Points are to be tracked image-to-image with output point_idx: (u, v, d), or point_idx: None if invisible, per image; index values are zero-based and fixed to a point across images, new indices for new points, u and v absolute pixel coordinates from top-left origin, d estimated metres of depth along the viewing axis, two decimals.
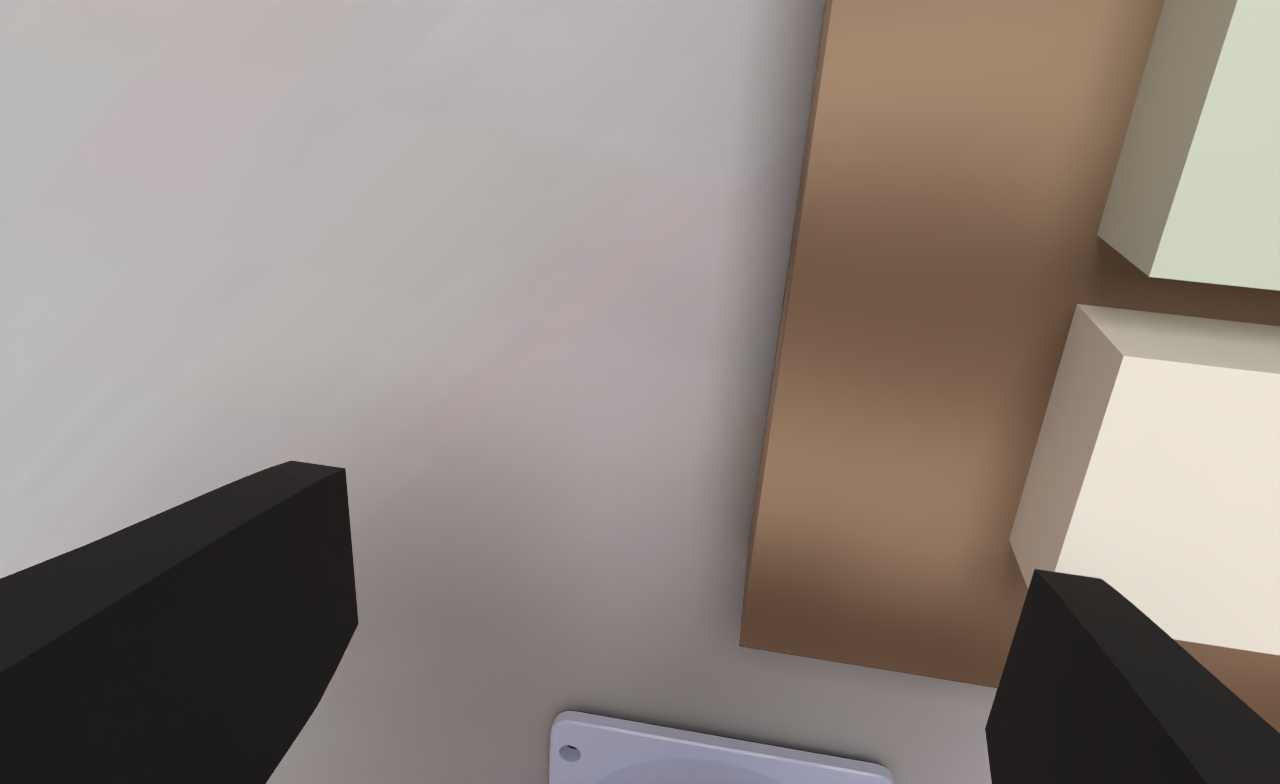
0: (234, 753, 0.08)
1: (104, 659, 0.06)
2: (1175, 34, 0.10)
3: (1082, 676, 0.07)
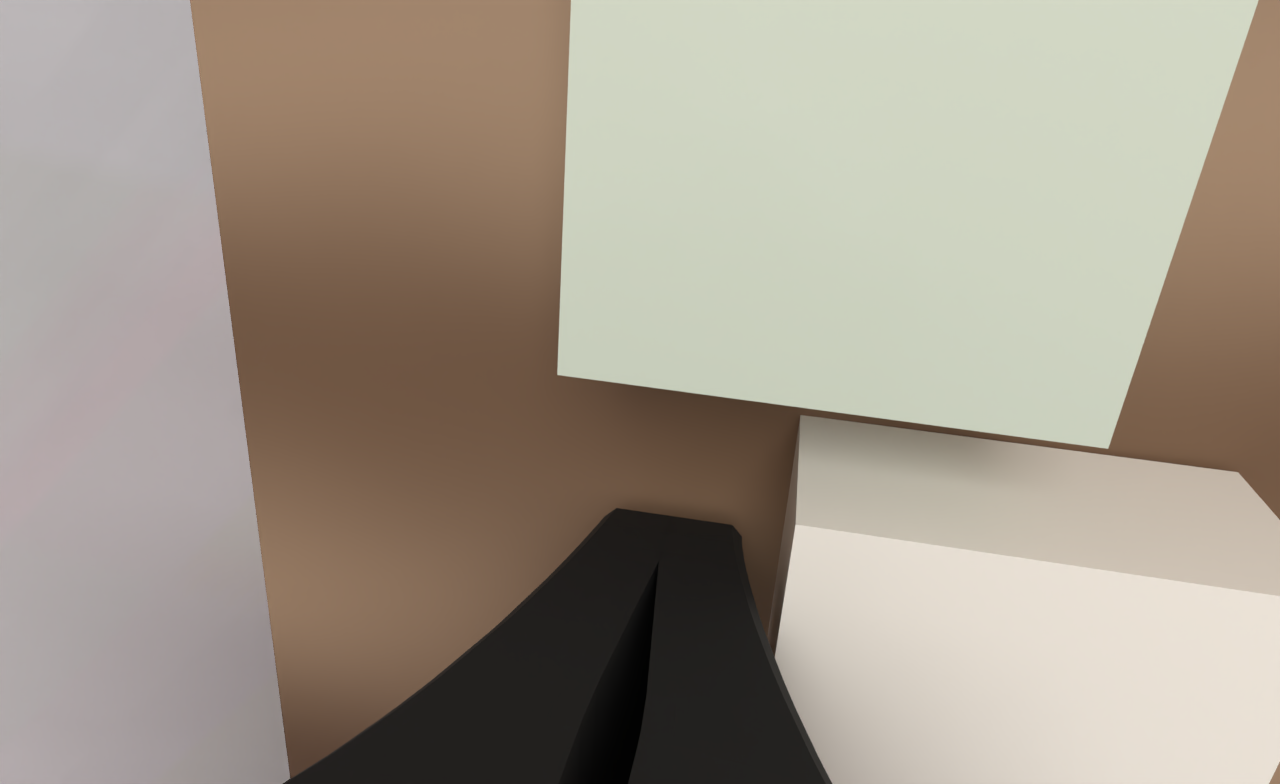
0: None
1: (587, 746, 0.06)
2: None
3: None
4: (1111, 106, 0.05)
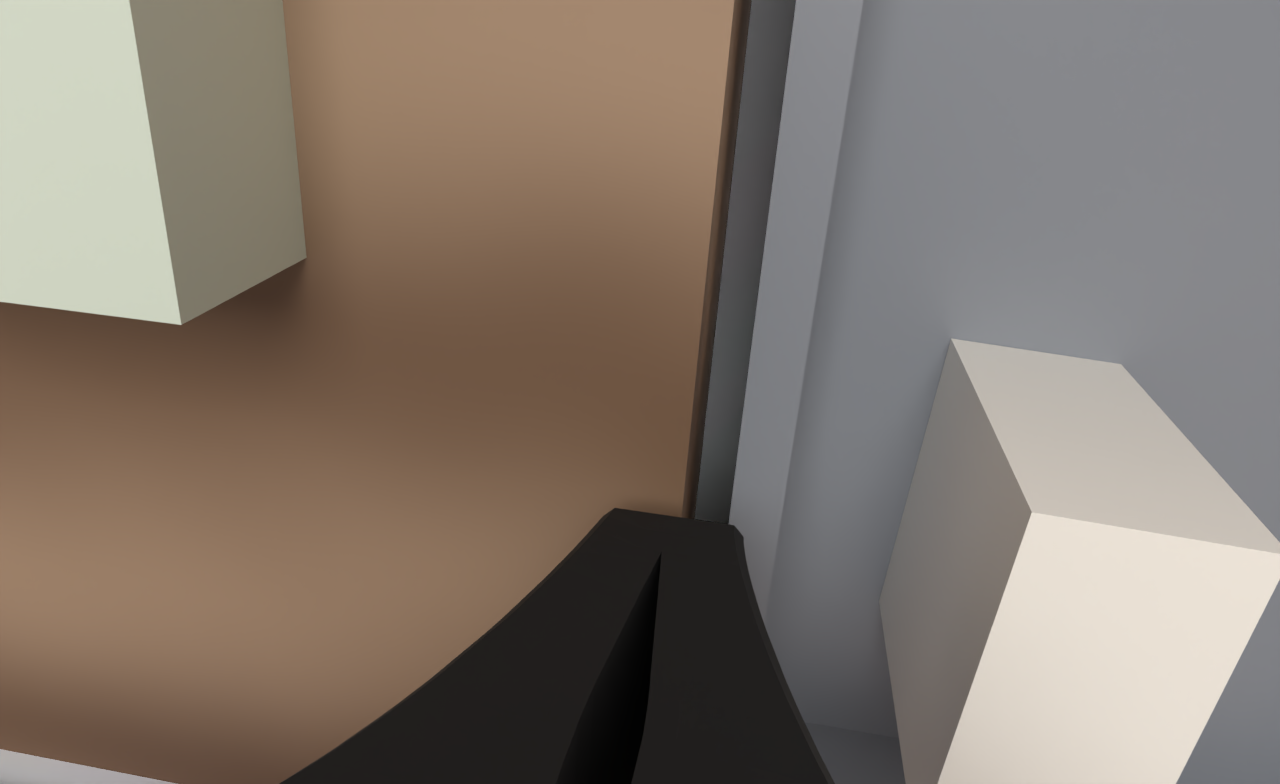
0: None
1: (585, 746, 0.06)
2: None
3: (656, 608, 0.07)
4: (51, 10, 0.06)
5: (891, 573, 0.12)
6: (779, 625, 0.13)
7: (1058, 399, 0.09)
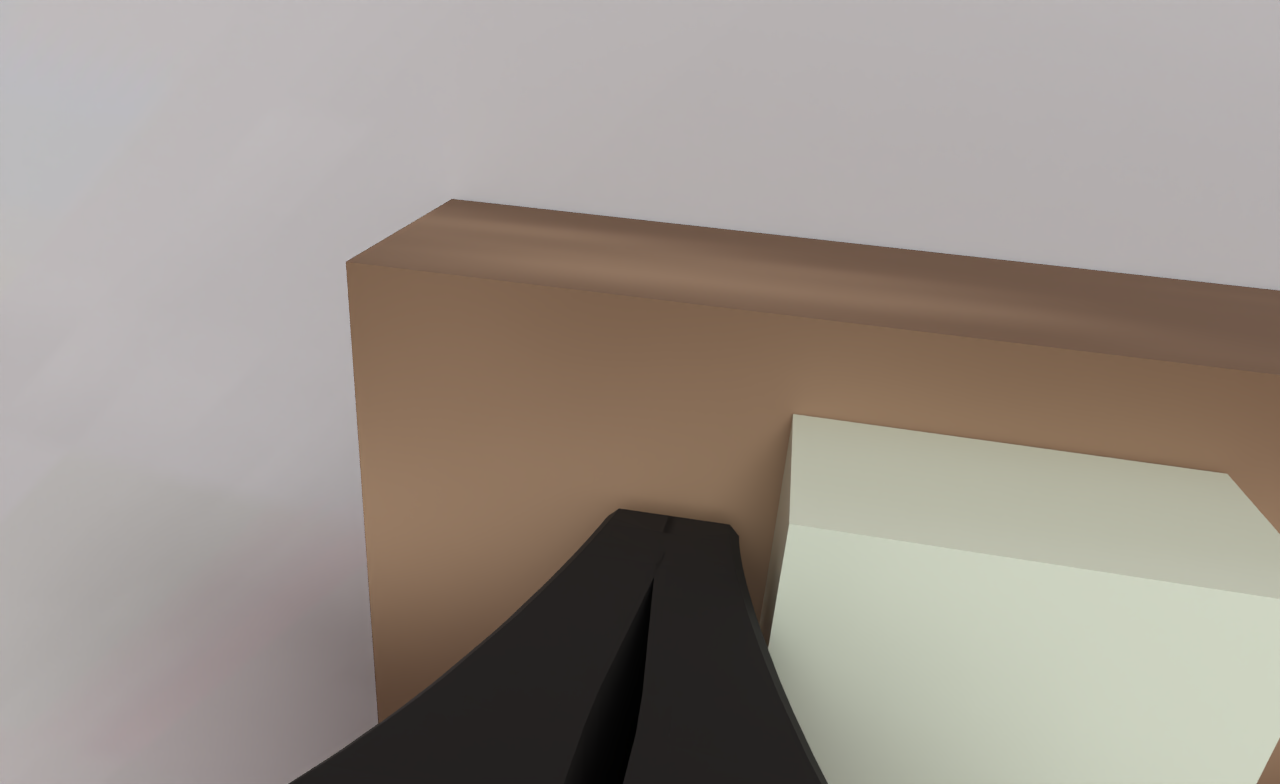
0: None
1: (591, 746, 0.06)
2: (771, 571, 0.09)
3: (650, 608, 0.07)
4: (1176, 766, 0.07)
5: None
6: None
7: None
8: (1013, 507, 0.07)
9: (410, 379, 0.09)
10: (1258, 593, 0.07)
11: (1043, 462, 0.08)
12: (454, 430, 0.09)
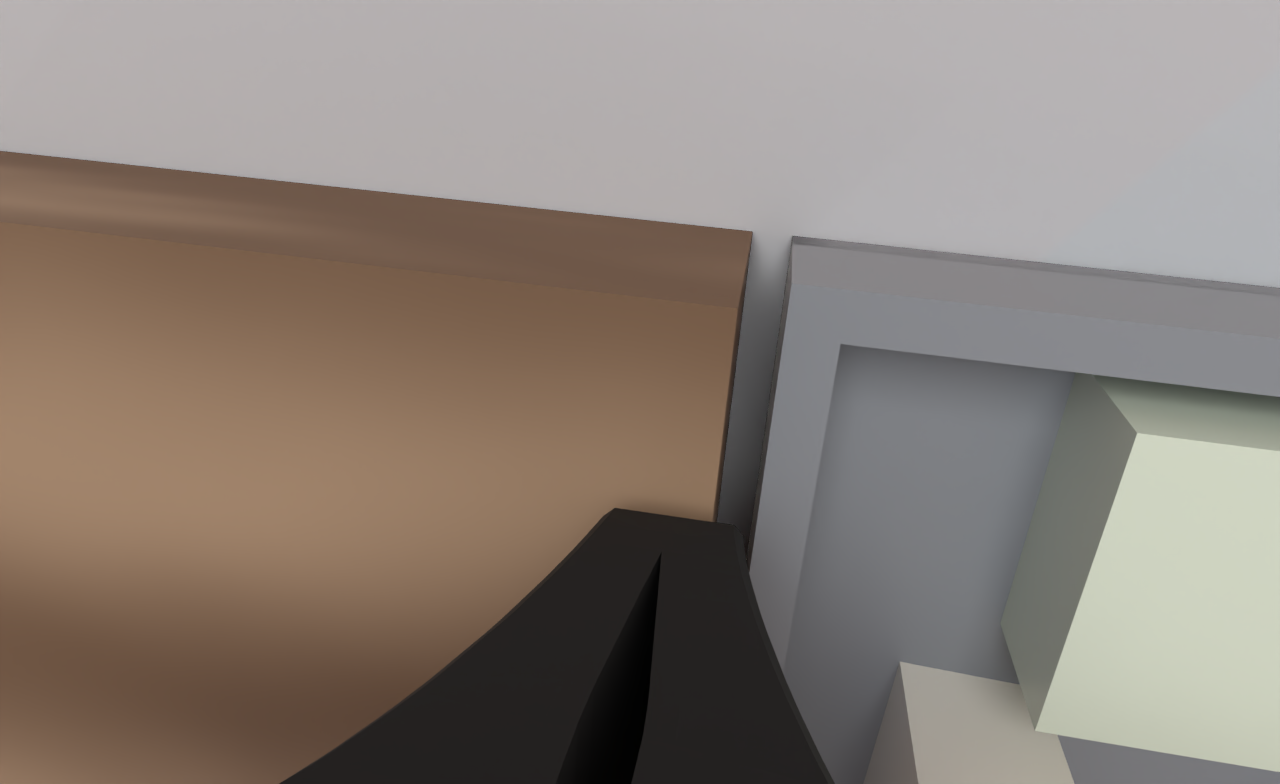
0: None
1: (584, 744, 0.06)
2: None
3: (656, 608, 0.07)
4: None
5: None
6: None
7: (980, 751, 0.11)
8: None
9: None
10: None
11: None
12: None
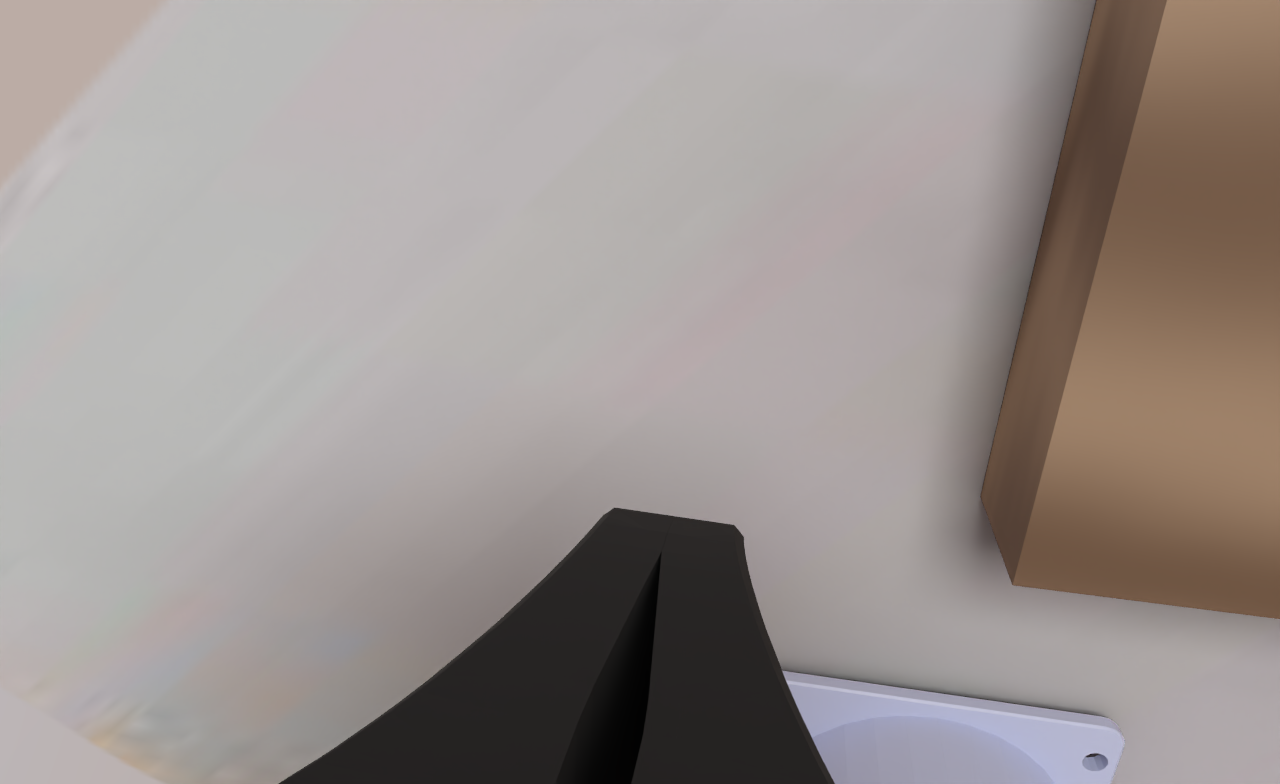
0: None
1: (584, 746, 0.06)
2: None
3: (656, 608, 0.07)
4: None
5: None
6: None
7: None
8: None
9: None
10: None
11: None
12: None
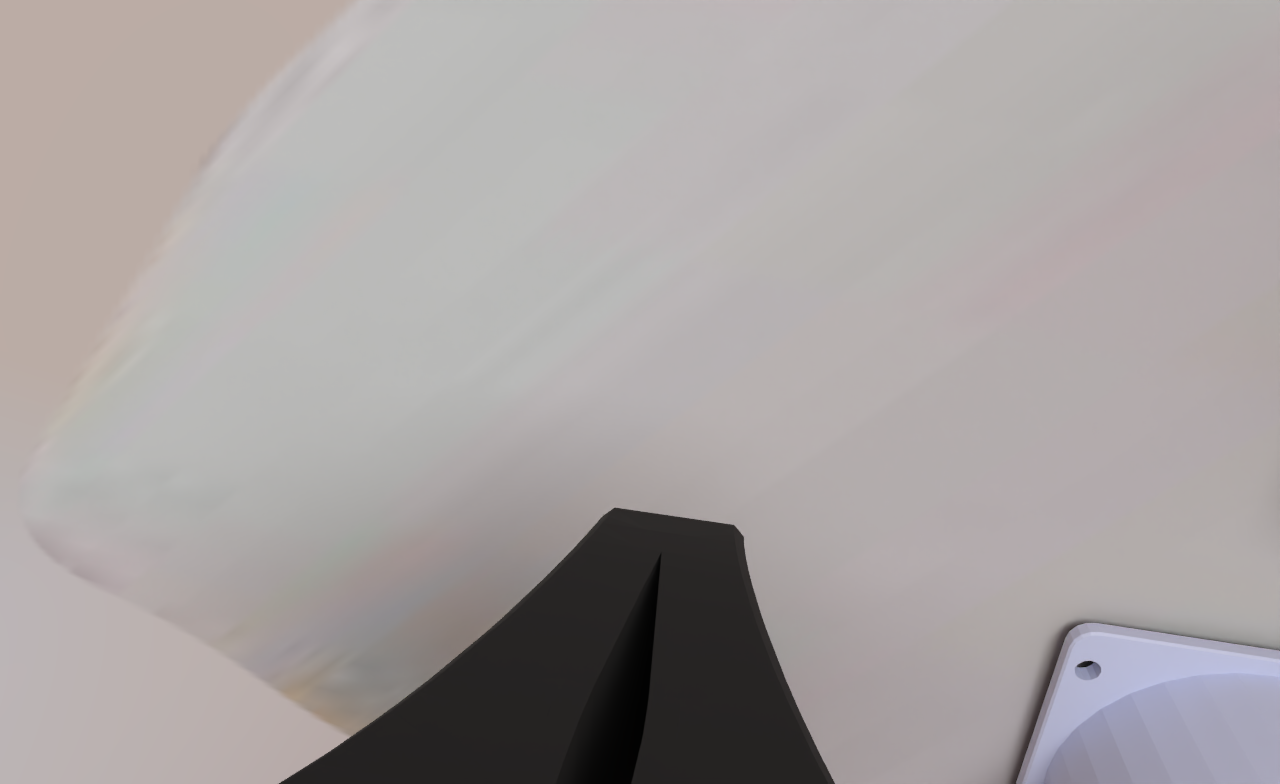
0: None
1: (584, 746, 0.06)
2: None
3: (656, 609, 0.07)
4: None
5: None
6: None
7: None
8: None
9: None
10: None
11: None
12: None
